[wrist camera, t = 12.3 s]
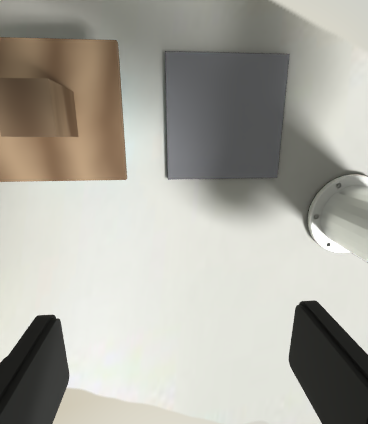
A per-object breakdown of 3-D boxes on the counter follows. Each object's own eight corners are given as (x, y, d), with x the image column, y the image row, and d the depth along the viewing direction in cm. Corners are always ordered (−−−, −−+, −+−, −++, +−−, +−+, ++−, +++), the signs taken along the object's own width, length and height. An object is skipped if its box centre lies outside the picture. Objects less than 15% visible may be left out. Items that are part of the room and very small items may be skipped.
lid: (118, 43, 26) (102, 11, 20) (127, 178, 30) (116, 189, 23) (-25, 40, 25) (-93, 4, 18) (3, 180, 29) (-45, 192, 22)
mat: (287, 55, 33) (289, 53, 33) (275, 177, 38) (277, 177, 37) (165, 52, 32) (165, 51, 31) (167, 178, 37) (168, 179, 36)
